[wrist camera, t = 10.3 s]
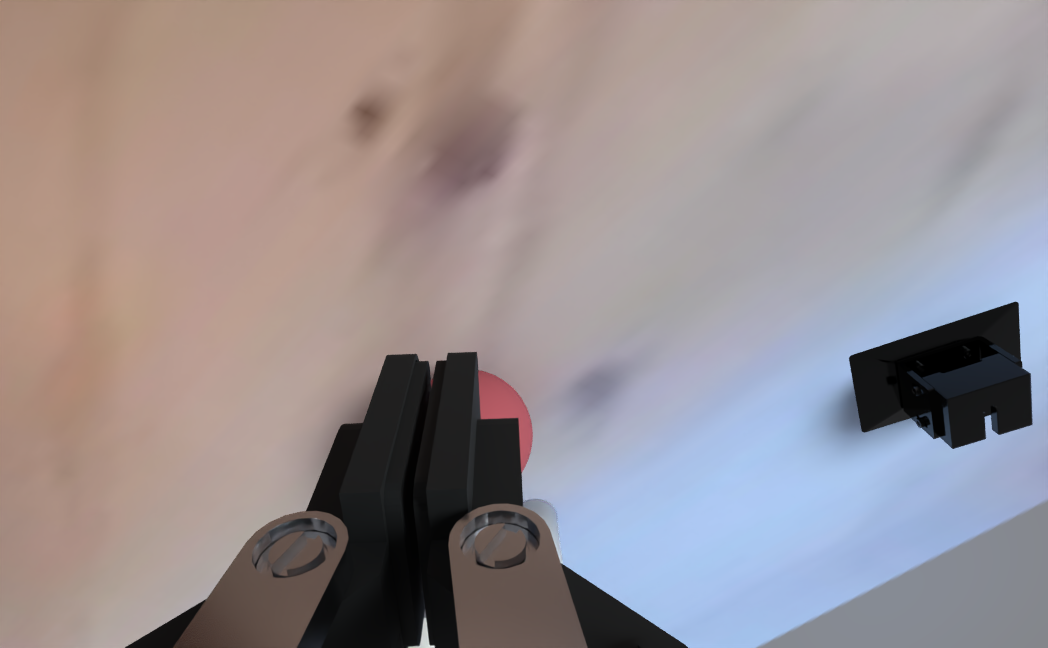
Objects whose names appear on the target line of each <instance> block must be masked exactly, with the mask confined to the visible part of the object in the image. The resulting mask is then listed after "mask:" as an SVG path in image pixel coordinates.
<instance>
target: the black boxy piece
mask: <svg viewBox="0 0 1048 648" xmlns="http://www.w3.org/2000/svg"><path fill="white" fill-rule="evenodd" d="M849 361H850V367H851V373H852V378H853V384H854V390H855V396H856V401H857V407H858V413H859V418H860V424H861V430H862V432H868V431H871V430H874V429H877V428H880V427H884V426H887V425H890V424H893V423H897V422H900V421H903V420H906V419H909V418H912V419H913V420H914V421H915V422H916V424H917V426H918V427H919V428H922V429H923V430H924V431H926V432H927V433H928V434H929V435H930V436H931V437H932V438H933V439H936V438H939V437H940V438H941V439H942V440H944V441H945V442H946V443H947V444H948V445H949V446H950V447H951V448H952V449H954V448H958V447H961V446H964V445H968V444H971V443H974V442H978V441H981V440H984V439H986V431H985V418H984V417H985V416H989V415H991V421H992V430H993V431H995V432H996V433H997V434H998V435H1001V434H1004V433H1007V432H1010V431H1014V430H1017V429H1020V428H1024V427H1027V426H1030V425H1032V424H1033V423H1032V394H1031V373H1029V372H1027V371H1026V370H1024V369H1023V368H1022V361H1021V353H1020V329H1019V304H1018V302H1013V303H1010V304H1007V305H1004V306H1001V307H998V308H995V309H992V310H989V311H985V312H982V313H979V314H976V315H973V316H970V317H967V318H964V319H961V320H958V321H955V322H952V323H949V324H946V325H943V326H940V327H937V328H934V329H931V330H927V331H924V332H921V333H918V334H915V335H912V336H909V337H906V338H903V339H900V340H897V341H894V342H891V343H888V344H885V345H882V346H879V347H876V348H873V349H869V350H866V351H863V352H860V353H857V354H854V355H851V356H850V358H849Z"/></svg>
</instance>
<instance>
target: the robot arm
mask: <svg viewBox="0 0 1048 648" xmlns="http://www.w3.org/2000/svg"><path fill="white" fill-rule="evenodd" d="M425 612H426V621H427V630H428V638H429V644H430V646H435V648H688V647H687V646H686V645H685V644H683V643H682V642H680V641H679V640H677V639H675V638H674V637H672V636H671V635H669V634H668V633H666V632H665V631H663V630H662V629H660V628H659V627H657V626H656V625H654V624H653V623H651V622H650V621H648V620H647V619H645V618H644V617H642V616H641V615H639V614H638V613H636V612H634V611H633V610H631V609H630V608H628V607H627V606H625V605H624V604H622V603H621V602H619V601H618V600H616V599H615V598H613V597H612V596H610V595H609V594H607V593H606V592H604V591H603V590H601V589H600V588H598V587H597V586H595V585H593V584H592V583H590V582H589V581H587V580H586V579H584V578H583V577H581V576H580V575H578V574H577V573H575V572H574V571H572V570H571V569H569V568H568V567H566V566H565V565H563V564H562V563H560V559H559V556H558V553H557V550H556V547H555V544H554V541H553V537H552V534H551V531H550V529H549V527H548V526H547V524H546V522H545V520H544V519H542V518H541V517H540V516H539V515H538V514H537V513H535V512H534V511H532V510H529V509H527V508H525V507H523V495H522V475H521V456H520V437H519V419H518V418H499V419H481V413H480V394H479V376H478V359H477V352H464V353H448V355H447V360H446V361H437V362H436V366H435V372H434V377H433V382H432V388H431V377H430V367H429V362H428V361H419V359H418V356H417V354H403V355H387V356H386V359H385V361H384V364H383V367H382V370H381V373H380V376H379V379H378V382H377V385H376V387H375V390H374V393H373V396H372V399H371V402H370V405H369V408H368V411H367V414H366V416H365V419H364V422H363V423H356V424H343V425H341V427H340V429H339V430H338V433H337V435H336V438H335V440H334V443H333V445H332V448H331V450H330V453H329V455H328V458H327V460H326V463H325V465H324V468H323V470H322V473H321V475H320V478H319V480H318V483H317V485H316V488H315V490H314V493H313V495H312V498H311V500H310V503H309V505H308V508H307V510H306V511H303V512H297V513H293V514H289V515H285V516H283V517H280V518H278V519H276V520H274V521H271V522H269V523H268V524H266V525H265V526H264V527H262V528H261V529H259V530H258V531H256V532H255V533H254V535H253V536H252V537H251V538H250V539H249V540H248V541H247V542H246V543H245V545H244V546H243V548H242V549H241V551H240V552H239V554H238V555H237V556H236V558H235V559H234V561H233V562H232V564H231V565H230V566H229V568H228V569H227V571H226V572H225V574H224V575H223V576H222V578H221V579H220V581H219V582H218V584H217V585H216V587H215V588H214V589H213V591H212V592H211V594H210V595H209V597H208V598H207V599H206V600H204V601H202V602H201V603H199V604H197V605H196V606H194V607H192V608H191V609H189V610H187V611H186V612H184V613H182V614H181V615H179V616H177V617H175V618H174V619H172V620H170V621H169V622H167V623H165V624H164V625H162V626H160V627H159V628H157V629H155V630H154V631H152V632H150V633H149V634H147V635H145V636H144V637H142V638H140V639H139V640H137V641H135V642H133V643H132V644H130V645H128V646H127V647H125V648H408V647H412V646H420V643H421V636H422V629H423V621H424V613H425Z"/></svg>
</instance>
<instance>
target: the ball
mask: <svg viewBox="0 0 1048 648" xmlns="http://www.w3.org/2000/svg"><path fill="white" fill-rule="evenodd" d="M478 376H479V394H480V413H481V419H499V418H518V419H519V437H520V456H521V473H522V471H523V470H524V468H525V466H526V463H527V461H528V459H529V455H530V452H531V447H532V437H533V432H532V423H531V419H530V415H529V413H528V410H527V407H526V406H525V404H524V402H523V400H522V399H521V397H520V396H519V395H518V393H517V392H516V391H515V390H514V389H513V388H512V387H511V386H510V385H509V384H507V383H506V382H505V381H504V380H502V379H500V378H498V377H497V376H495V375H492V374H490V373H487V372H484V371H479V370H478ZM432 382H433V379H432V380H431V388H432Z"/></svg>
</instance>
